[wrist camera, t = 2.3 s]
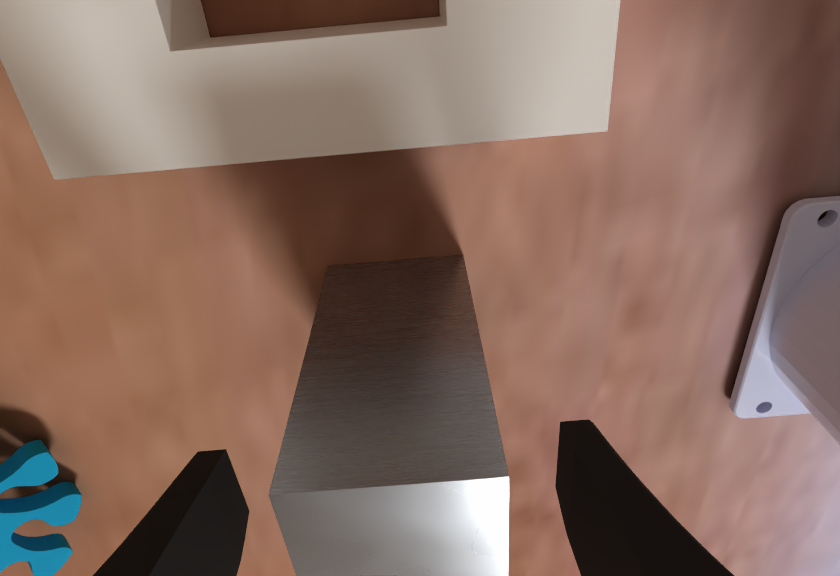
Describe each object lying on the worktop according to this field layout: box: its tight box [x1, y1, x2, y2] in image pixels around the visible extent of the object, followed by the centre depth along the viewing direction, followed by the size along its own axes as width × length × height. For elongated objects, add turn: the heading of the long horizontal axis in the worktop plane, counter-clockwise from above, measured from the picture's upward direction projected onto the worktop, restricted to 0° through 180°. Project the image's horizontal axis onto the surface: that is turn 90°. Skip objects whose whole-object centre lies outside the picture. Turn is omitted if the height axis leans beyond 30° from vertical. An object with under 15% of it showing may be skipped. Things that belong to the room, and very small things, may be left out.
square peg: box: [269, 255, 509, 576], centre depth 13 cm, size 4×4×8 cm
